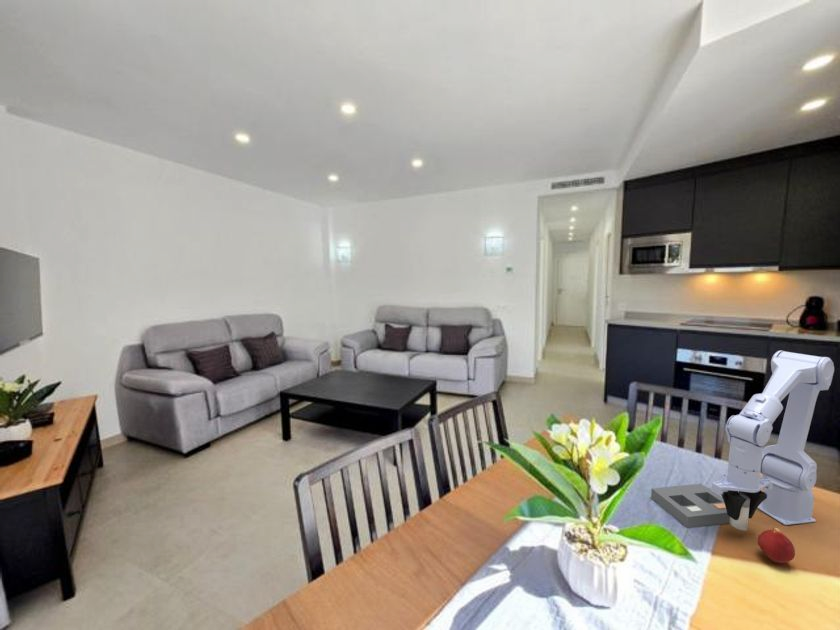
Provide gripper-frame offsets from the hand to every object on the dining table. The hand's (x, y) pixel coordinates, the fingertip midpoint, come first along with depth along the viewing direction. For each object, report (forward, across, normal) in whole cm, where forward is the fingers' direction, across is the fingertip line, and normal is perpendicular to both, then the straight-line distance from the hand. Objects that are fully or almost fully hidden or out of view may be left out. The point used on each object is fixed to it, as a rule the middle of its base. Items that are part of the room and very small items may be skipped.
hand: (739, 516), depth 86 cm
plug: (+2, 0, 0) cm, 2 cm away
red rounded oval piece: (+5, 0, +8) cm, 10 cm away
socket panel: (+5, +2, -10) cm, 11 cm away
